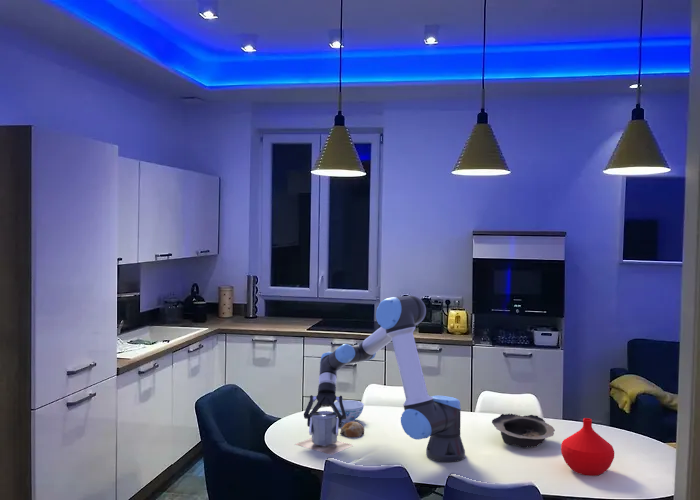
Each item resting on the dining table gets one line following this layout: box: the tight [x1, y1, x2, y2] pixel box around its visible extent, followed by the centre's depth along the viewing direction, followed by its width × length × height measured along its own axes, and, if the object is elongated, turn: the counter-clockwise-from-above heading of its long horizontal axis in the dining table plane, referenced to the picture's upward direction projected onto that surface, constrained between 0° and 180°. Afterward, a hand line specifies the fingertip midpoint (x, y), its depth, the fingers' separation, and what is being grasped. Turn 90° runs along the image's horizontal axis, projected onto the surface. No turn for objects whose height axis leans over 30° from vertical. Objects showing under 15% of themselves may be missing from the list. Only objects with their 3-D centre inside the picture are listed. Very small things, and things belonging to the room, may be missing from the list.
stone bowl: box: [491, 413, 556, 449], centre depth 260 cm, size 25×25×9 cm
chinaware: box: [332, 399, 365, 424], centre depth 291 cm, size 15×15×8 cm
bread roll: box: [339, 421, 365, 438], centre depth 269 cm, size 10×10×8 cm
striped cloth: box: [294, 437, 355, 456], centre depth 255 cm, size 20×14×1 cm
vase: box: [560, 417, 615, 477], centre depth 228 cm, size 18×18×19 cm
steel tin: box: [311, 410, 338, 445], centre depth 255 cm, size 10×10×11 cm
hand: (323, 433), depth 252 cm, fingers closed on steel tin, 10 cm apart
